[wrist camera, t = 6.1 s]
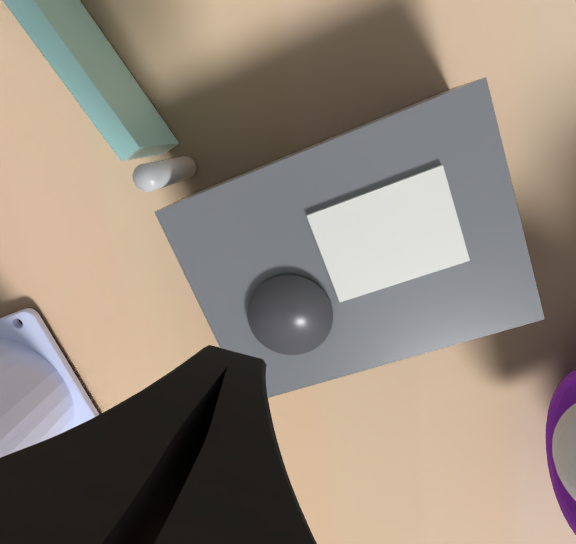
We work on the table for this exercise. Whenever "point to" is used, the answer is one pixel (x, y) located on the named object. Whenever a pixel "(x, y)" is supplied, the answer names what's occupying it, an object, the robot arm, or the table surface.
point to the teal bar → (103, 87)
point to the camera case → (363, 245)
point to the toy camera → (563, 446)
